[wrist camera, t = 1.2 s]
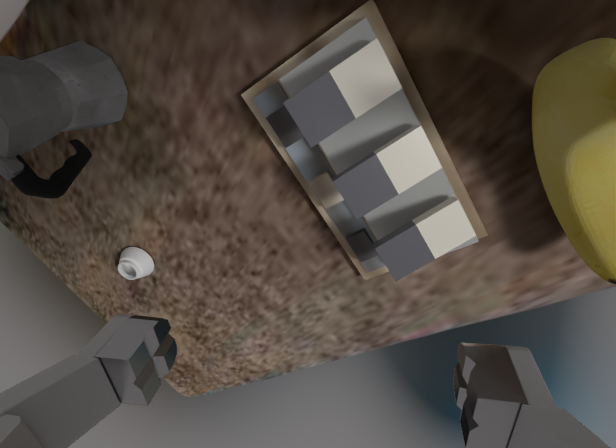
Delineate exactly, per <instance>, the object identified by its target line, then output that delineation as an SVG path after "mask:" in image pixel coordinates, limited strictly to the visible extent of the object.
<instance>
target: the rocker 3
mask: <svg viewBox="0 0 616 448" xmlns="http://www.w3.org/2000/svg"><path fill="white" fill-rule="evenodd" d="M475 236H476V234H475V232H474V230H473V228H472V226H471V224H470V222H469V220H468V218H467V216H466V214H465V212H464V210H463V208H462V206H461V204H460V202H459V200H458V199H457V198H455V197H453V196H452V197H450V198H449V199H447V200H445V201H444V202H442V203H440V204H438V205H437V206H435V207H433V208H432V209H430V210H428V211H427V212H425V213H423V214H422V215H420V216H418V217H417V218H414V219H412V220H410V221H409V222H407V223H405V225H403V226H401V227H400V228H398V229H396V230H395V231H393V232H391V233H390V234H388V235H386V236H384V237H383V238H381V239H379V240H378V241H376V242H374V243H373V246H374V248H375V249H376V251H377V253H378V254H379V256H380V257H381V259H382V261H383V262H384V264H385V265H386V267H387V268H388V270H389V272H390V273H391V275H392V276H393V278H394V280H395V281H397V280H399V279H401V278H403V277H404V276H406V275H408V274H410V273H412V272H413V271H415V270H417V269H419V268H420V267H422V266H424V265H426V264H427V263H429V262H431V261H433V260H434V259H436V258H438V257H440V256H441V255H443V254H445V253H447V252H448V251H450V250H452V249H454V248H455V247H457V246H459V245H461V244H462V243H464V242H466V241H468V240H469V239H471V238H473V237H475Z"/></svg>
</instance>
